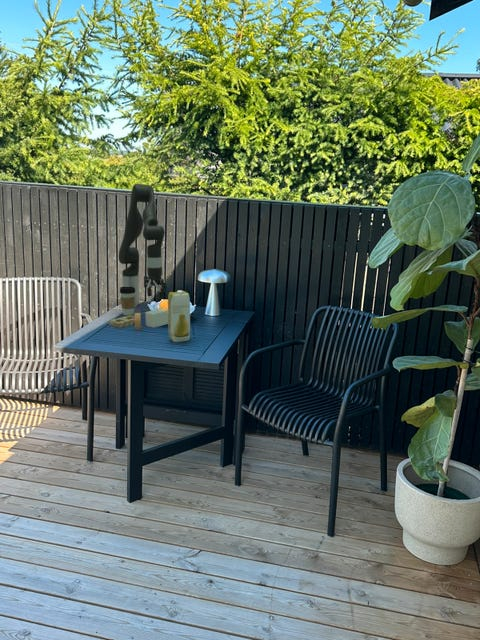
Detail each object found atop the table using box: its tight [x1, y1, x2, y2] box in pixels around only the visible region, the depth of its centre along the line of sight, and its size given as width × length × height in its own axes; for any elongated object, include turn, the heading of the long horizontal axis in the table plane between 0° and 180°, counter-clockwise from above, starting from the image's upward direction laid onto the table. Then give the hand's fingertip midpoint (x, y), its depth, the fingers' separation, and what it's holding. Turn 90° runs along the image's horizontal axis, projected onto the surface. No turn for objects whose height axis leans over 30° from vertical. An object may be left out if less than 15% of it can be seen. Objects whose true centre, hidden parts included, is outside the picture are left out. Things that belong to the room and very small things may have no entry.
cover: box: [144, 308, 168, 329], centre depth 296 cm, size 6×10×7 cm, turn 141°
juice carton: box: [167, 290, 191, 343], centre depth 269 cm, size 9×8×24 cm
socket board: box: [108, 315, 135, 329], centre depth 297 cm, size 14×8×2 cm, turn 141°
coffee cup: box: [119, 286, 135, 316], centre depth 314 cm, size 8×8×15 cm
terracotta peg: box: [134, 312, 142, 331], centre depth 287 cm, size 3×3×8 cm
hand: (155, 297), depth 293 cm, fingers open, 8 cm apart
